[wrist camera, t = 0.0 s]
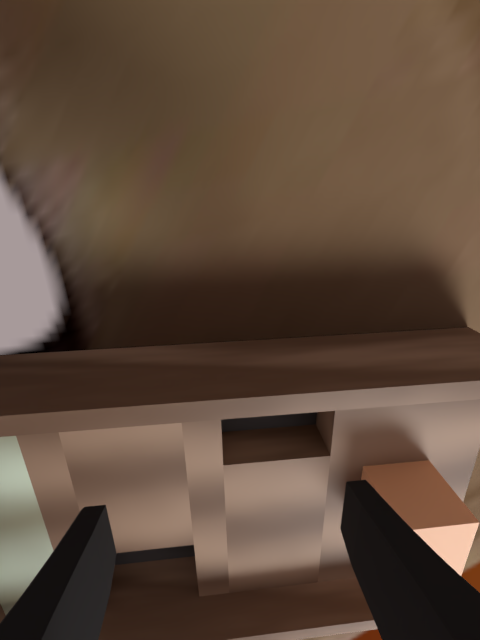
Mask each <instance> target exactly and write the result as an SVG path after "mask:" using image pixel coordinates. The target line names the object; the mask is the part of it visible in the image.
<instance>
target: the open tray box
mask: <svg viewBox="0 0 480 640" xmlns="http://www.w3.org/2000/svg"><path fill="white" fill-rule="evenodd" d="M479 448H480V333H478V332H476V331H474V330H473V329H471V328H469V327H463V328H446V329H429V330H413V331H396V332H379V333H363V334H346V335H329V336H313V337H296V338H279V339H263V340H246V341H229V342H213V343H196V344H179V345H163V346H146V347H129V348H113V349H96V350H79V351H63V352H46V353H29V354H13V355H0V623H1V621H2V620H3V619H4V617H5V616H6V615H7V614H8V612H9V611H10V610H11V608H12V607H13V606H14V605H15V603H16V602H17V601H18V599H19V598H20V597H21V595H22V594H23V593H24V591H25V590H26V589H27V587H28V586H29V585H30V583H31V582H32V580H33V579H34V578H35V576H36V575H37V573H38V572H39V571H40V569H41V568H42V567H43V565H44V564H45V562H46V561H47V560H48V558H49V557H50V555H51V554H52V552H53V551H54V550H55V548H56V547H57V545H58V544H59V542H60V541H61V539H62V538H63V536H64V535H65V533H66V532H67V530H68V529H69V527H70V526H71V524H72V523H73V521H74V520H75V518H76V517H77V515H78V514H79V512H80V511H81V510H82V509H83V508H84V507H88V506H99V505H106V508H107V513H108V517H109V521H110V526H111V530H112V535H113V539H114V544H115V548H116V552H117V553H116V560H115V566H114V573H113V579H112V585H111V591H110V596H109V600H108V604H107V608H106V612H105V616H104V619H103V623H102V627H101V631H100V635H99V639H98V640H299V639H307V638H314V637H322V636H329V635H337V634H344V633H351V632H359V631H366V630H374V629H378V628H377V626H376V623H375V621H374V619H373V616H372V614H371V611H370V609H369V607H368V604H367V602H366V599H365V597H364V595H363V592H362V590H361V587H360V585H359V583H358V580H357V578H356V575H355V573H354V570H353V568H352V565H351V562H350V559H349V556H348V553H347V549H346V546H345V543H344V539H343V536H342V533H341V529H340V527H341V519H342V511H343V503H344V495H345V487H346V482H347V481H357V480H361V476H362V470H363V466H372V465H383V464H394V463H404V462H415V461H426V460H429V461H430V462H431V463H432V464H433V466H434V467H435V468H436V469H437V471H438V472H439V473H440V474H441V476H442V477H443V478H444V479H445V481H446V482H447V483H448V484H449V486H450V487H451V488H452V489H453V491H454V492H455V493H456V494H457V495H458V497H459V498H460V499H461V500H462V502H463V501H464V497H465V494H466V491H467V487H468V484H469V481H470V478H471V474H472V471H473V468H474V465H475V461H476V458H477V455H478V451H479Z"/></svg>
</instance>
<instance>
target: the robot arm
mask: <svg viewBox="0 0 480 640" xmlns="http://www.w3.org/2000/svg"><path fill="white" fill-rule="evenodd" d="M340 529H341V533H342V536H343V539H344V543H345V546H346V549H347V553H348V556H349V559H350V562H351V565H352V568H353V570H354V573H355V575H356V578H357V580H358V583H359V585H360V587H361V590H362V592H363V595H364V597H365V599H366V602H367V604H368V607H369V609H370V611H371V614H372V616H373V619H374V621H375V623H376V626H377V628H378V630H379V633H380V635H381V638H382V639H383V640H480V593H479V592H478V591H477V590H476V589H475V588H474V587H472V586H471V585H470V584H469V583H468V582H467V581H466V580H465V579H464V578H462V577H461V576H460V575H459V574H458V573H457V572H456V571H455V570H454V569H453V568H452V567H451V566H449V565H448V564H447V563H446V562H445V561H444V560H443V559H442V558H441V557H440V556H439V555H438V554H437V553H436V552H435V551H434V550H433V549H432V548H431V547H430V546H429V545H428V544H427V543H426V542H425V541H424V540H423V539H422V538H421V537H420V536H419V535H418V534H417V533H416V532H415V531H414V530H413V529H412V528H411V527H410V526H409V525H408V524H407V523H406V522H405V521H404V520H403V519H402V518H401V517H400V516H399V515H398V514H397V513H396V512H395V511H394V509H393V508H392V507H391V506H390V505H389V504H388V503H387V502H386V501H385V500H384V499H383V498H382V497H381V496H380V494H379V493H378V492H377V491H376V490H375V489H374V488H373V487H372V486H371V485H370V484H369V483H368V482H367V481H366V480H357V481H347V482H346V487H345V495H344V503H343V511H342V519H341V527H340ZM116 553H117V552H116V548H115V544H114V539H113V535H112V530H111V526H110V521H109V517H108V513H107V508H106V505H99V506H88V507H84V508H83V509H82V510H81V511H80V512H79V514H78V515H77V517H76V518H75V520H74V521H73V523H72V524H71V526H70V527H69V529H68V530H67V532H66V533H65V535H64V536H63V538H62V539H61V541H60V542H59V544H58V545H57V547H56V548H55V550H54V551H53V552H52V554H51V555H50V557H49V558H48V560H47V561H46V562H45V564H44V565H43V567H42V568H41V569H40V571H39V572H38V573H37V575H36V576H35V578H34V579H33V580H32V582H31V583H30V585H29V586H28V587H27V589H26V590H25V591H24V593H23V594H22V595H21V597H20V598H19V599H18V601H17V602H16V603H15V605H14V606H13V607H12V608H11V610H10V611H9V612H8V614H7V615H6V616H5V617H4V619H3V620H2V621H1V623H0V640H98V639H99V635H100V631H101V627H102V623H103V619H104V616H105V612H106V608H107V604H108V600H109V596H110V591H111V585H112V579H113V573H114V566H115V560H116Z"/></svg>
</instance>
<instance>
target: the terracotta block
mask: <svg viewBox="0 0 480 640" xmlns="http://www.w3.org/2000/svg"><path fill="white" fill-rule="evenodd" d="M361 480H366V481H367V482H368V483H369V484H370V485H371V486H372V487H373V488H374V489H375V490H376V491H377V492H378V493H379V494H380V496H381V497H382V498H383V499H384V500H385V501H386V502H387V503H388V504H389V505H390V506H391V507H392V508H393V509H394V511H395V512H396V513H397V514H398V515H399V516H400V517H401V518H402V519H403V520H404V521H405V522H406V523H407V524H408V525H409V526H410V527H411V528H412V529H413V530H414V531H415V532H416V533H417V534H418V535H419V536H420V537H421V538H422V539H423V540H424V541H425V542H426V543H427V544H428V545H429V546H430V547H431V548H432V549H433V550H434V551H435V552H436V553H437V554H438V555H439V556H440V557H441V558H442V559H443V560H444V561H445V562H446V563H447V564H448V565H449V566H451V567H452V568H453V569H454V570H455V571H456V572H457V573H458V574H459V575H460V576H461V575H462V572H463V569H464V566H465V563H466V560H467V557H468V554H469V551H470V548H471V546H472V543H473V540H474V537H475V534H476V531H477V528H478V525H479V522H478V520H477V519H476V518H475V517H474V515H473V514H472V513H471V512H470V510H469V509H468V508H467V507H466V505H465V504H464V503H463V502H462V500H461V499H460V498H459V497H458V495H457V494H456V493H455V492H454V491H453V489H452V488H451V487H450V486H449V484H448V483H447V482H446V481H445V479H444V478H443V477H442V476H441V474H440V473H439V472H438V471H437V469H436V468H435V467H434V466H433V464H432V463H431V462H430V461H429V460H426V461H415V462H404V463H394V464H383V465H372V466H363V470H362V476H361Z"/></svg>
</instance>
